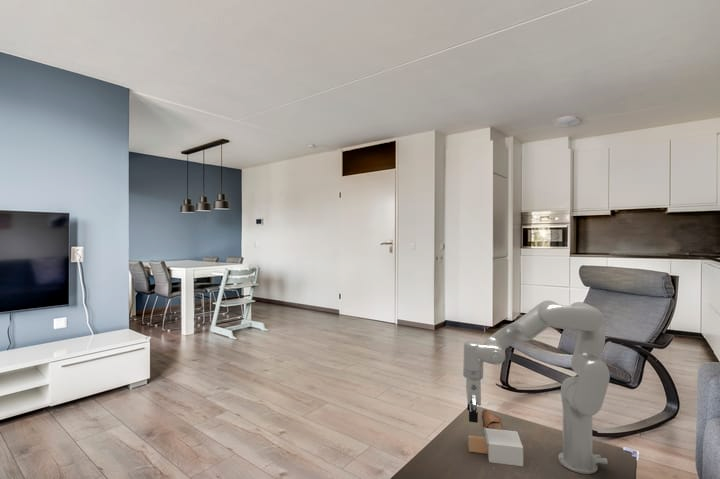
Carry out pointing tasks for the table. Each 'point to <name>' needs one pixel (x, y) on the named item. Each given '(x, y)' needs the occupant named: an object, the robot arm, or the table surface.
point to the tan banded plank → (478, 444)
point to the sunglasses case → (491, 420)
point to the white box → (504, 447)
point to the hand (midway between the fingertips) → (472, 416)
